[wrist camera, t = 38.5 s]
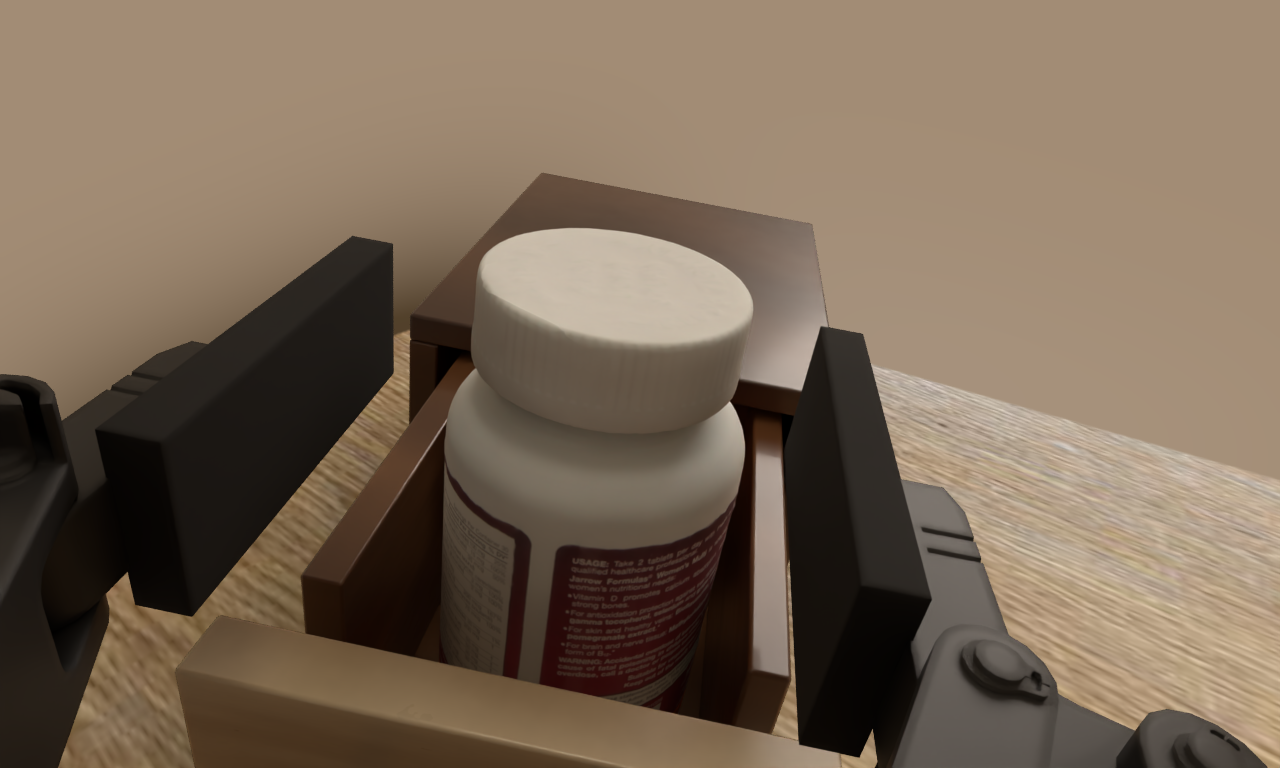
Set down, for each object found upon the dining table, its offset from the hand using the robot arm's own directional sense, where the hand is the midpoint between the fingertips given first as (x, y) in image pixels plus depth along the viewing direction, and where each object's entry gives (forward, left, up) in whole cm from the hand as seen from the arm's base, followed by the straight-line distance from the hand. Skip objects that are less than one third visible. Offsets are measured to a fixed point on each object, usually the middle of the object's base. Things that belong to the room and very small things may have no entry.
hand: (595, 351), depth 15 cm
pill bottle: (0, +1, -10) cm, 10 cm away
